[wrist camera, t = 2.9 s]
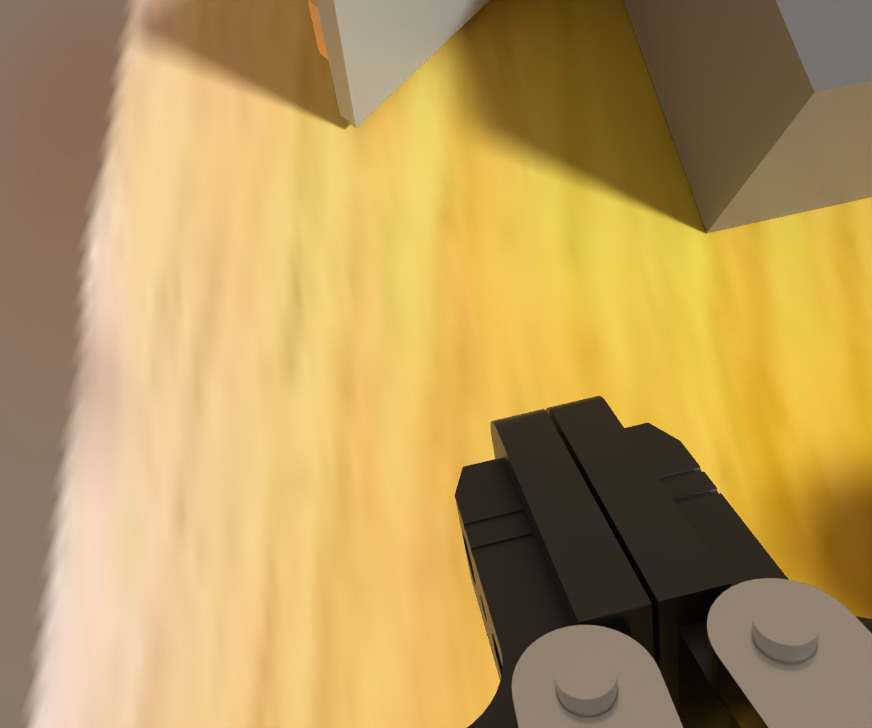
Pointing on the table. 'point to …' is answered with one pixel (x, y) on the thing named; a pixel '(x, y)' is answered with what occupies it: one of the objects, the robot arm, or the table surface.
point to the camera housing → (763, 101)
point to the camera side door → (381, 44)
